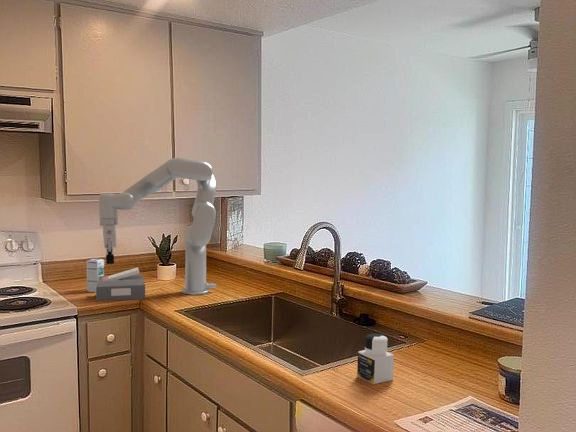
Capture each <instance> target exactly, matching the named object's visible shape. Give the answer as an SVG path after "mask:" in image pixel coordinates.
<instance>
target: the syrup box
mask: <svg viewBox="0 0 576 432" xmlns="http://www.w3.org/2000/svg"><path fill="white" fill-rule="evenodd" d="M98 276H105V259H103V258H92V259H89V260H88V259H87V260H86V289H87V290H86V291H87V293H88V292H89V293H96V286H97V282H98Z"/></svg>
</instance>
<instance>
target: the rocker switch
mask: <svg viewBox="0 0 576 432" xmlns="http://www.w3.org/2000/svg"><path fill="white" fill-rule="evenodd" d="M139 274H140V270H139V267H134V268H131V269H128V270H125V271H121V272H117V273H114V274H111V275H106V276H107V277H103V278H102V279H101V281H109V280H118V279H121V278H125V277H128V276H131V275H139Z"/></svg>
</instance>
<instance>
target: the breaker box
mask: <svg viewBox="0 0 576 432" xmlns="http://www.w3.org/2000/svg"><path fill="white" fill-rule="evenodd" d="M107 276H108V275H104V276H98V282H97V286H96V292H95V293H96V294H95V295H96V296H95V297H96V302H103V301H104V302H105V301H125V300H127V301H128V300H129V301H130V300H145V299H146V284H145V279H144V274H135V275H131V276H128V277H125V278H121V279H118V280H109V281H101V279H102V278H103V277H107Z"/></svg>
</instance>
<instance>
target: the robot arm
mask: <svg viewBox="0 0 576 432" xmlns="http://www.w3.org/2000/svg"><path fill="white" fill-rule="evenodd" d="M213 172H214V171H213V167H212V165H211V164H209V162H206V161H202V160H201V161H200V160H193V159H186V158H180V157H173V158H170V159H168V160H167V161H165V162H164V163H163V164H161V165H159V166H158V167H157V168H155V169H154V170H153V171H151V172H150V173H148V174H147V175H144V177H142V178H141V179H140V180H138V181H137V182H135V183H134V184H133V185H131V186H129V187H127V189H125V190H123V191H122V192H121V193H117V194H116V193H112V192H111V193H101V194H99V196H98V210H99V211H98V212H99V213H98V214H99V226H100V227H102V235H103V239H102V240H103V245H104V249H106V254H105V261H106V262H105V263H106V265H113V264H115V256H114V255H115V254H114V249H117V228H116V226H118V225H119V218H118V214H119V213H118V210H120V211H123V210H124V211H129V210H132V209H134V207H135V206H136V203H138V202H140V201H141V200H142V199H144V198H146V197H148V196H150V195H152V194H155V193H157V192H159V191H160V190H162V189H163V188H165V187H166V186H167V185H168V184H170V183H172V182H173V181H175V180H176V179H177V178H180V179H181V178H182V179H187V180H195V181H196V183H197V188H196V189H197V190H196V194H195V195H196V196H195V200H194V202H193V203H194V204H193V206H192V209H191V215H192V217H193V221H192V224H190V225H189V226H188V227H186V229H185V231H184V247H185V248H184V249H185V252H184V253H185V258H184V259H185V260H184V261H185V262H184V264H185V265H184V266H185V269H184V270H185V271H184V272H185V273H184V274H185V275H184V276H185V277H184V278H185V279H184V280H185V282H184V288H182V289H181V293H182V294H184V295H194V296H196V295H197V296H199V295H205V294H208V293H210V289H215V288H217V284H216V283H211V282H209V283H208V282H207V245H208V244H209V242H210V241H211V238H212V234H213V230H214V227H215V222H216V218H217V211H216V208H215V206H214V204H215V198H216V193H217V181H216V178H215V175H214V174H213Z"/></svg>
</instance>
